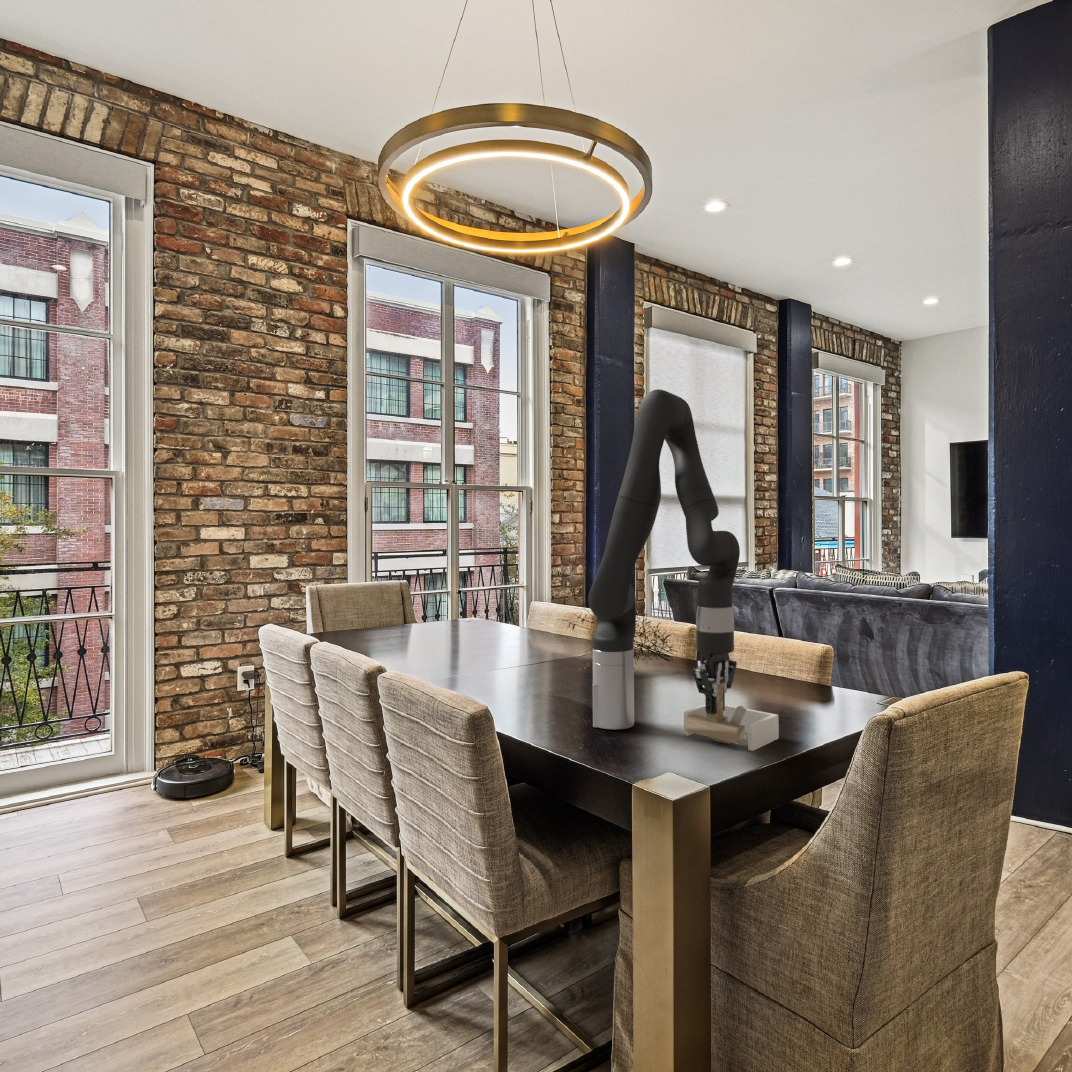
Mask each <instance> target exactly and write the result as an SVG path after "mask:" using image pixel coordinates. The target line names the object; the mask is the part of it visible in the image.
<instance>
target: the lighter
mask: <svg viewBox="0 0 1072 1072" xmlns="http://www.w3.org/2000/svg"><path fill="white" fill-rule="evenodd" d="M736 707H737V708H736V710H735V713H734V715H733V717H732V719H731V721H728V716H724V715H723V721H726V722H730V723H735V724H740V722H741V720H742V718H743V716H744V714H745V712H746V709H747V708H746V707H744V706H743V705H738V706H736ZM711 739H712V741H715V742H719V743H722V742H723V744H726V743H727V744H728V745H731V744H732V743H731V742H727V741H723V740H720V739H716V738H712V737H711Z"/></svg>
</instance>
